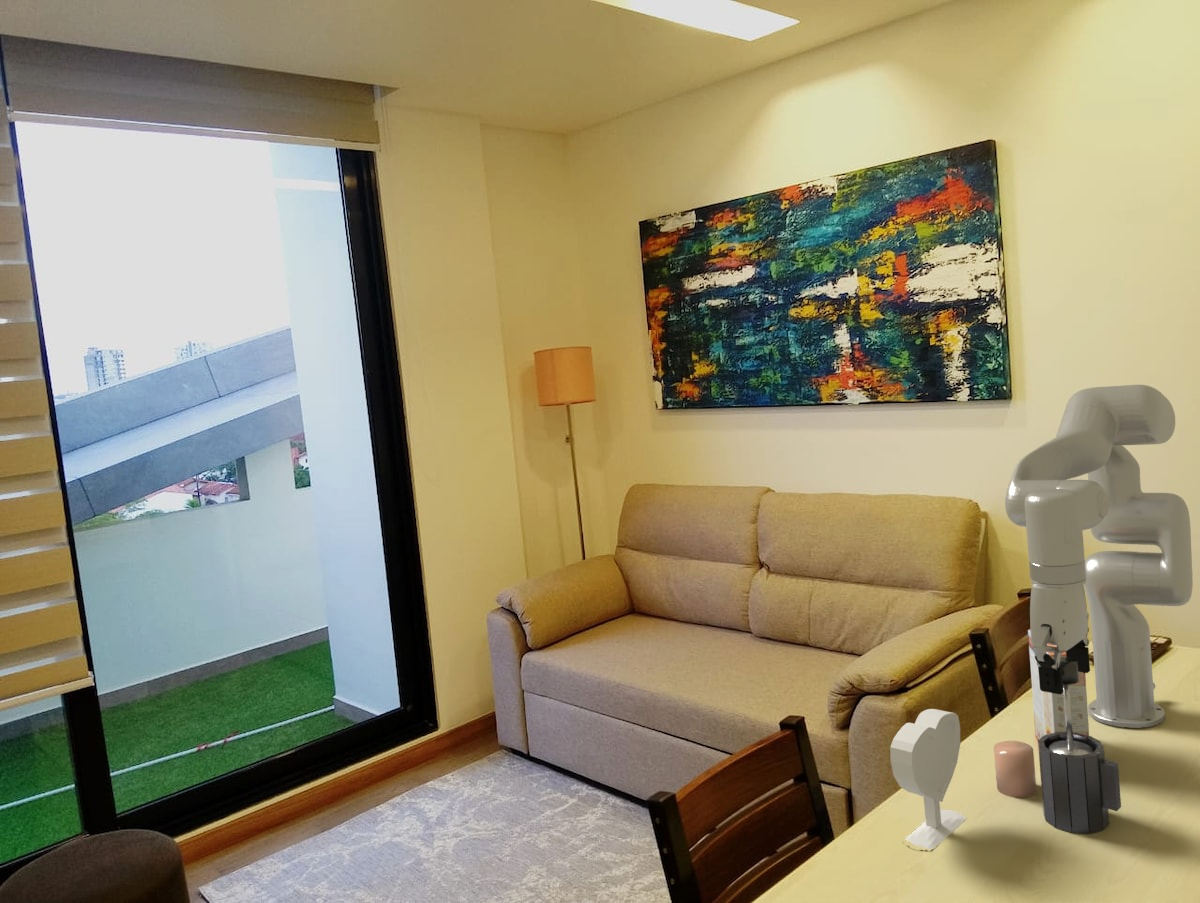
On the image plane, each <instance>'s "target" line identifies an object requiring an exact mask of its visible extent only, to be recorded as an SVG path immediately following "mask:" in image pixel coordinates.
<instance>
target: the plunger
mask: <svg viewBox="0 0 1200 903" xmlns="http://www.w3.org/2000/svg"><path fill="white" fill-rule="evenodd" d="M1059 667H1060V668H1062V679H1063V698H1064V711H1065V724H1066V737H1067V740H1063V741H1057V742H1054V743H1052V744H1050V746H1049V749H1050V750H1051V751H1053V752H1056V753H1060V754H1065V755H1085V754H1089V753H1093V749H1092V748H1091V747H1090V746H1089V745H1087V744H1085V743H1082V742H1078V741H1073V730H1072V717H1071V703H1070V690H1069V685H1070V684H1076V683H1078V682H1079V677H1078V664H1077V660H1076V659H1073V658H1069V657H1061V659H1060V663H1059Z"/></svg>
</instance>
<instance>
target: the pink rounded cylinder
mask: <svg viewBox="0 0 1200 903" xmlns="http://www.w3.org/2000/svg"><path fill="white" fill-rule="evenodd" d="M993 754H994V755H993V756H994V765H995V766H994V769H995V779H996V789H997V791H998V792H999V793H1000V794H1002V795H1005V796H1006V797H1007V796H1008V797H1010V798H1015V799H1016V798H1018V799H1019V798H1022V797H1023V798H1029V797H1032V796H1034V795H1035V794H1036V793H1037V779H1036V778H1037V777H1036V767H1035V756H1034V754H1035V753H1034V748H1033V746H1032V745H1030V744H1028V743H1026V742H1024V741H1023V742H1022V741H1019V740H1005V741H1004V740H1003V741H1000V742H997V743H996V744H994V745H993Z"/></svg>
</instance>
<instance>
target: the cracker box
mask: <svg viewBox="0 0 1200 903" xmlns="http://www.w3.org/2000/svg"><path fill="white" fill-rule="evenodd" d="M1027 636H1028V637H1027V638H1028V639H1027V640H1028V652H1029V662H1030V677H1031V689H1032V690H1031V691H1032V705H1033V706H1032V707H1033V718H1034V719H1033V720H1034V736H1035V738H1036V740H1037V741H1038V740H1039V739H1040V738H1042V737H1043V736H1044V735H1047V734H1051V733H1056V732H1066V724H1065V711H1064V698H1063V693H1062V694H1054V693H1049V692H1044V691H1041V690H1040V683H1039V670H1038V666H1037V661H1036V659H1035V653H1034V651H1033V647H1032V645H1031V630H1030V629H1028V630H1027ZM1047 646H1052V647H1057V645H1050V644H1048V643H1047ZM1046 654H1049V655H1050V656H1051V658H1052V659H1053V657H1054V653H1051V652H1046ZM1061 657H1066V651H1065V652H1063V653H1062V654H1061ZM1086 675H1087V674H1086V673H1083V672H1078V677H1079V682H1078V683H1076V684H1070V685H1069V690H1070V703H1071V717H1072V730H1073V732H1074V733H1079V734H1084V735H1089V736H1090V726H1089V712H1088V695H1087V679H1086V678H1087V677H1086Z"/></svg>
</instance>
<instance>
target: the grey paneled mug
mask: <svg viewBox="0 0 1200 903" xmlns="http://www.w3.org/2000/svg"><path fill="white" fill-rule="evenodd" d="M1063 740H1067V737H1066V732H1056V733H1051V734H1047V735H1044V736H1043V737H1042V738H1040V739H1039V740H1037V746H1038V748H1037V749H1038V759H1039V770H1040V784H1041V795H1042V797H1041V798H1042V810H1043V816H1044V821H1046V823H1048V824H1049V825H1051V826H1052V827H1053V828H1055V829H1057V830H1060V831H1064V832H1066V833H1067V832H1068V833H1070V834H1081V835H1084V834H1086V835H1089V834H1090V835H1091V834H1095V833H1099V832H1102V831H1105V829H1106V828H1107V827H1108V826H1109V824H1110V816H1109V814H1110V813H1109V810H1110V811H1115V812H1118V811H1119V810H1120V809H1121V808H1122V802H1121V801H1122V799H1121V788H1120V787H1121V786H1120V784H1121V783H1120V774H1119V773H1120V771H1119V762H1118V761H1114V760H1111V759H1110V760H1109V759H1106V757H1105V748H1104V745H1103V743H1102V741H1100V740H1099V739H1097V738H1095V737H1093V736H1091V735H1090V734H1089V735H1084V734H1079V733H1074V732H1073V741H1078V742H1082V743H1085V744H1087V745H1089V746H1090V747H1091V748H1092V749H1093V753H1089V754H1085V755H1065V754H1060V753H1056V752H1053V751H1051V750H1050V749H1049V746H1050V744H1052V743H1054V742H1057V741H1063Z"/></svg>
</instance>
